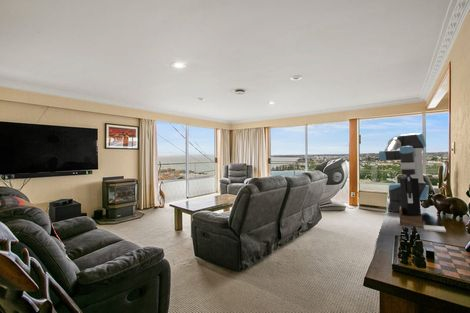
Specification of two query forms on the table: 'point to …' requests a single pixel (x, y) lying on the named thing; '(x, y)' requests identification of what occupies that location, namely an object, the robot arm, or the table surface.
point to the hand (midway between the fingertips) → (410, 201)
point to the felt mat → (434, 228)
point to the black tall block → (414, 207)
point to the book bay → (410, 220)
